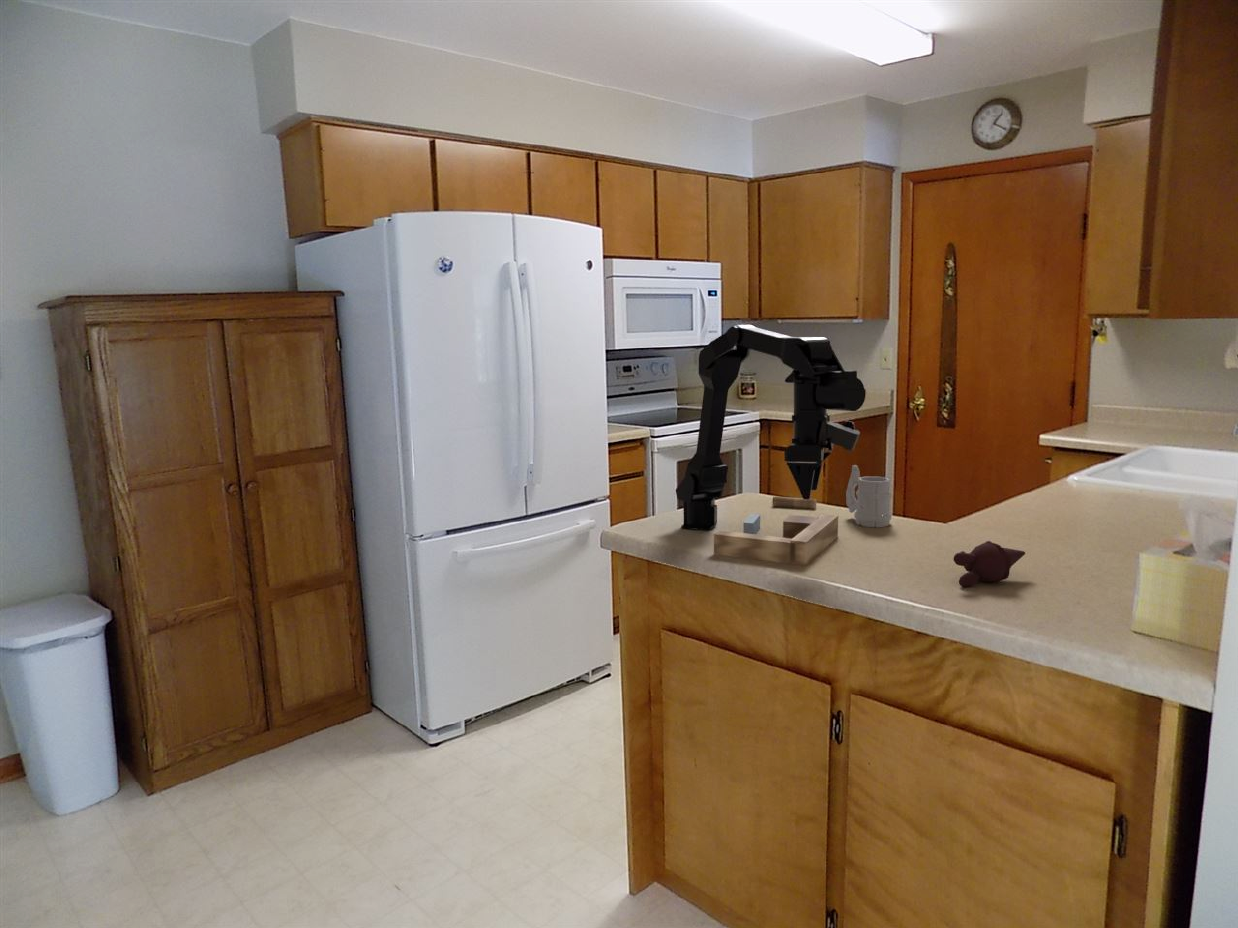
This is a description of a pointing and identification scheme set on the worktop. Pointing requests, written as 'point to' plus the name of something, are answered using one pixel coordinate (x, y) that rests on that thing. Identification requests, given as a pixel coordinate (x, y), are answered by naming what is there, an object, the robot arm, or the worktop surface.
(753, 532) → the stop batten
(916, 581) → the worktop surface
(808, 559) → the wooden l-shaped bracket
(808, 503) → the dowel
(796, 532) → the block
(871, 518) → the mug
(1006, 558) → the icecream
